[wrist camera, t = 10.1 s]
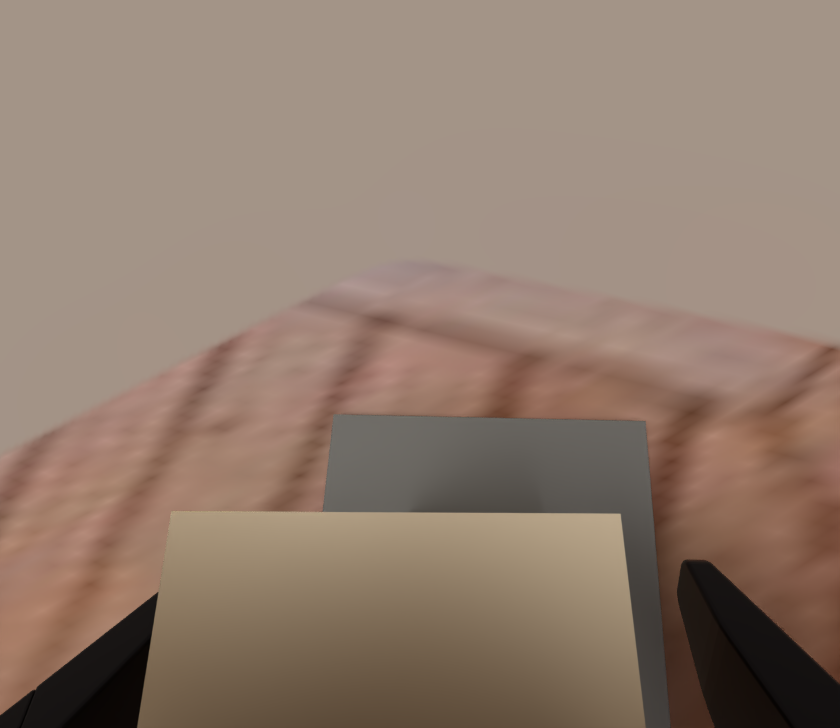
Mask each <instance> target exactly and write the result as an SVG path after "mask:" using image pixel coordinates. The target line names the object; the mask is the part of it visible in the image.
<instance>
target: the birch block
mask: <svg viewBox="0 0 840 728" xmlns="http://www.w3.org/2000/svg"><path fill="white" fill-rule="evenodd" d="M137 728H646V726H645V718H644V709H643V701H642V692H641V684H640V675H639V667H638V658H637V650H636V641H635V633H634V624H633V616H632V607H631V599H630V590H629V582H628V573H627V565H626V556H625V548H624V539H623V531H622V522H621V514H593V513H412V512H231V511H171V517H170V523H169V530H168V536H167V542H166V549H165V555H164V561H163V568H162V574H161V580H160V587H159V593H158V599H157V606H156V612H155V618H154V625H153V631H152V637H151V644H150V650H149V656H148V662H147V669H146V675H145V681H144V688H143V694H142V700H141V707H140V713H139V719H138V726H137Z"/></svg>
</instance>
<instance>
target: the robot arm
mask: <svg viewBox="0 0 840 728" xmlns="http://www.w3.org/2000/svg"><path fill="white" fill-rule="evenodd" d="M158 593H159V592H157V593H156V594H155V595H154V596H152V597H151V598H150V599H148V600H147V601H146V602H145V603H143V604H142V605H141V606H140V607H138V608H137V609H136V610H134V611H133V612H132V613H131V614H129V615H128V616H127V617H125V618H124V619H123V620H122V621H120V622H119V623H118V624H117V625H115V626H114V627H113V628H111V629H110V630H109V631H108V632H106V633H105V634H104V635H103V636H101V637H100V638H99V639H97V640H96V641H95V642H94V643H92V644H91V645H90V646H88V647H87V648H86V649H85V650H83V651H82V652H81V653H80V654H78V655H77V656H76V657H74V658H73V659H72V660H71V661H69V662H68V663H67V664H65V665H64V666H63V667H62V668H60V669H59V670H58V671H57V672H55V673H54V674H53V675H51V676H50V677H49V678H48V679H46V680H45V681H44V682H42V683H41V684H40V685H39V686H38V687H37V688H36V690H32V691H31V692H30V693H28V694H27V695H26V696H24V697H23V698H22V699H21V700H19V701H18V702H17V703H16V704H14V705H13V706H12V707H10V708H9V709H8V710H6V711H5V712H4V713H3V714H1V715H0V728H137V726H138V719H139V713H140V707H141V700H142V694H143V688H144V681H145V675H146V669H147V662H148V656H149V650H150V644H151V637H152V631H153V625H154V618H155V612H156V606H157V599H158ZM677 596H678V602H679V606H680V610H681V614H682V618H683V622H684V625H685V629H686V633H687V637H688V641H689V644H690V648H691V652H692V656H693V659H694V663H695V667H696V671H697V675H698V678H699V682H700V686H701V689H702V693H703V696H704V699H705V701H706V704H707V707H708V710H709V713H710V715H711V718H712V721H713V723H714V726H715V728H840V684H839V683H838V682H837V681H836V680H835V679H834V678H833V677H832V676H831V675H829V674H828V673H827V672H826V671H825V670H824V669H823V668H822V667H821V666H820V665H819V664H818V663H817V662H816V661H815V660H814V659H813V658H811V657H810V656H809V655H808V654H807V653H806V652H805V651H804V650H803V649H802V648H801V647H800V646H799V645H798V644H797V643H796V642H794V641H793V640H792V639H791V638H790V637H789V636H788V635H787V634H786V633H785V632H784V631H783V630H782V629H781V628H780V627H779V626H778V625H776V624H775V623H774V622H773V621H772V620H771V619H770V618H769V617H768V616H767V615H766V614H765V613H764V612H763V611H762V610H761V609H759V608H758V607H757V606H756V605H755V604H754V603H753V602H752V601H751V600H750V599H749V598H748V597H747V596H746V595H745V594H744V593H743V592H741V591H740V590H739V589H738V588H737V587H736V586H735V585H734V584H733V583H732V582H731V581H730V580H729V579H728V578H727V577H726V576H724V575H723V574H722V573H721V572H720V571H719V570H718V569H717V568H716V567H715V566H714V565H713V564H712V563H710V562H708V561H706V560H684V561H683V562H682V565H681V570H680V576H679V582H678V588H677Z"/></svg>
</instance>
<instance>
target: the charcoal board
mask: <svg viewBox="0 0 840 728" xmlns="http://www.w3.org/2000/svg"><path fill="white" fill-rule="evenodd" d="M323 512H412V513H593V514H621V522H622V531H623V539H624V548H625V556H626V565H627V573H628V582H629V590H630V599H631V607H632V616H633V624H634V633H635V641H636V650H637V658H638V667H639V675H640V684H641V692H642V701H643V709H644V718H645V726H646V728H671V725H670V713H669V701H668V689H667V677H666V665H665V653H664V640H663V628H662V616H661V604H660V592H659V580H658V568H657V556H656V544H655V531H654V519H653V507H652V495H651V483H650V471H649V459H648V447H647V435H646V422H645V421H615V420H569V419H522V418H475V417H428V416H381V415H335V414H334V416H333V425H332V434H331V443H330V451H329V460H328V469H327V478H326V487H325V495H324V504H323Z"/></svg>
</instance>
